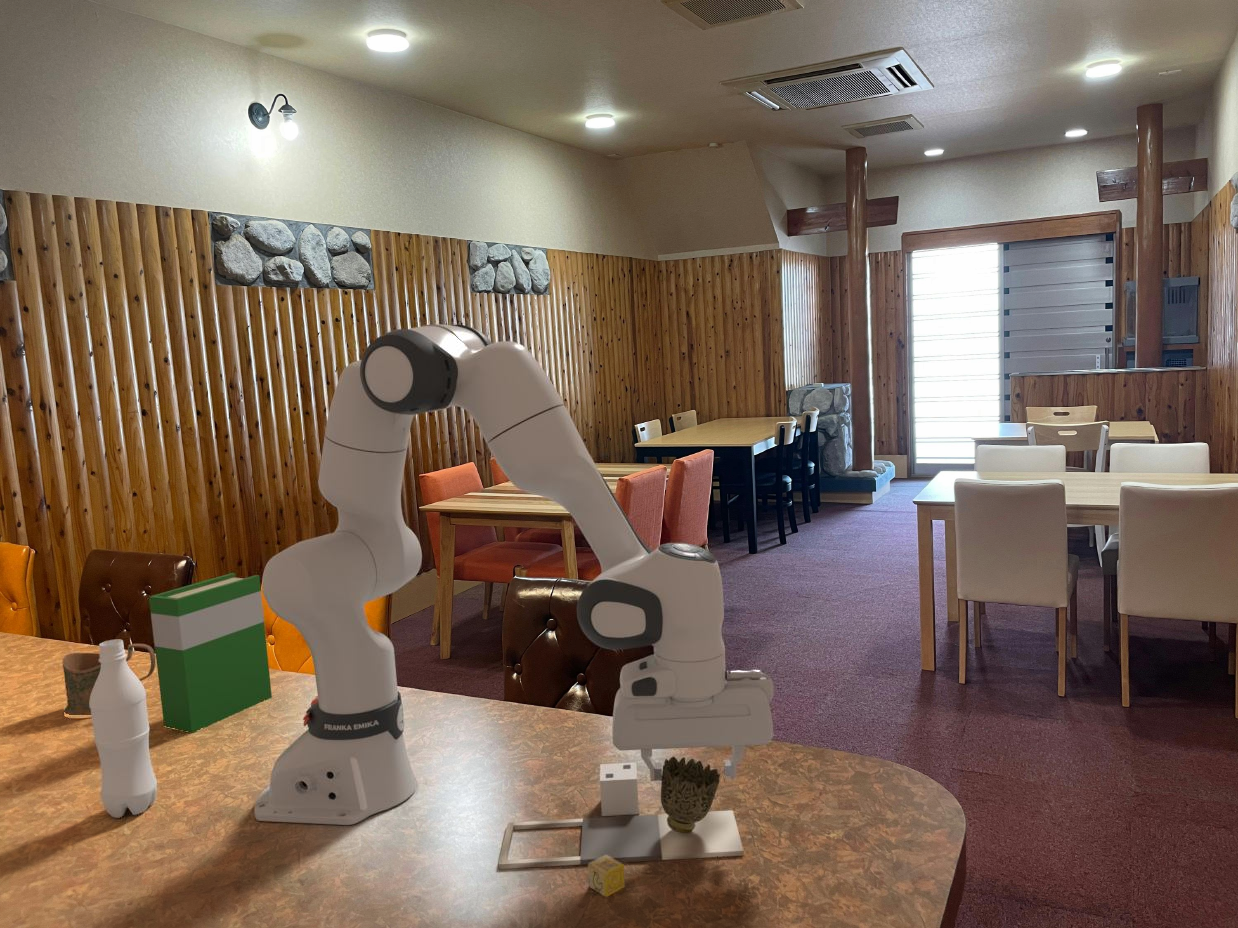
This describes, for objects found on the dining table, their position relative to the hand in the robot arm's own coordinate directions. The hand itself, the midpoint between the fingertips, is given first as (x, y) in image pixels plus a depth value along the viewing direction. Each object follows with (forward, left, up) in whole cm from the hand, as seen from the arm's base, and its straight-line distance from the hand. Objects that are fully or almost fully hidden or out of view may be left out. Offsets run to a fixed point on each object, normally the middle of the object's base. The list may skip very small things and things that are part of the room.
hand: (693, 777), depth 116 cm
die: (-10, +9, -8) cm, 15 cm away
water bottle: (-81, +16, -8) cm, 83 cm away
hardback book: (-84, +53, -8) cm, 99 cm away
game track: (-10, 0, -8) cm, 12 cm away
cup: (-2, 0, -7) cm, 7 cm away
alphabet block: (-11, -10, -8) cm, 17 cm away
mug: (-107, +59, -8) cm, 122 cm away
